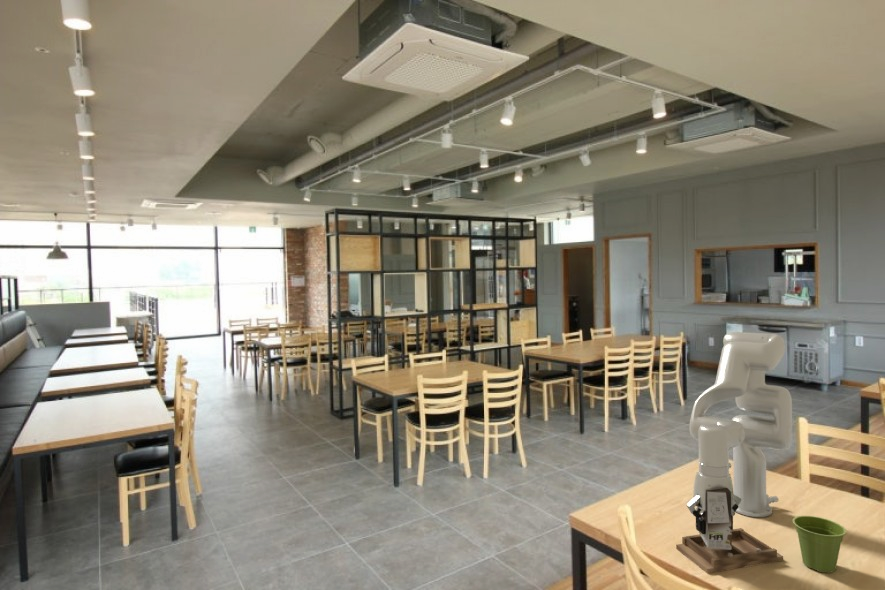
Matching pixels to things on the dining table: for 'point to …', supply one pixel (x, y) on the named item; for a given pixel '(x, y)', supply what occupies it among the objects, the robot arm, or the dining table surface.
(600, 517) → the dining table surface
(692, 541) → the divided wooden tray
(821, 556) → the plant pot
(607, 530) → the dining table surface
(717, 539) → the coffee box
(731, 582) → the dining table surface
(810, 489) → the dining table surface
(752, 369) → the robot arm
